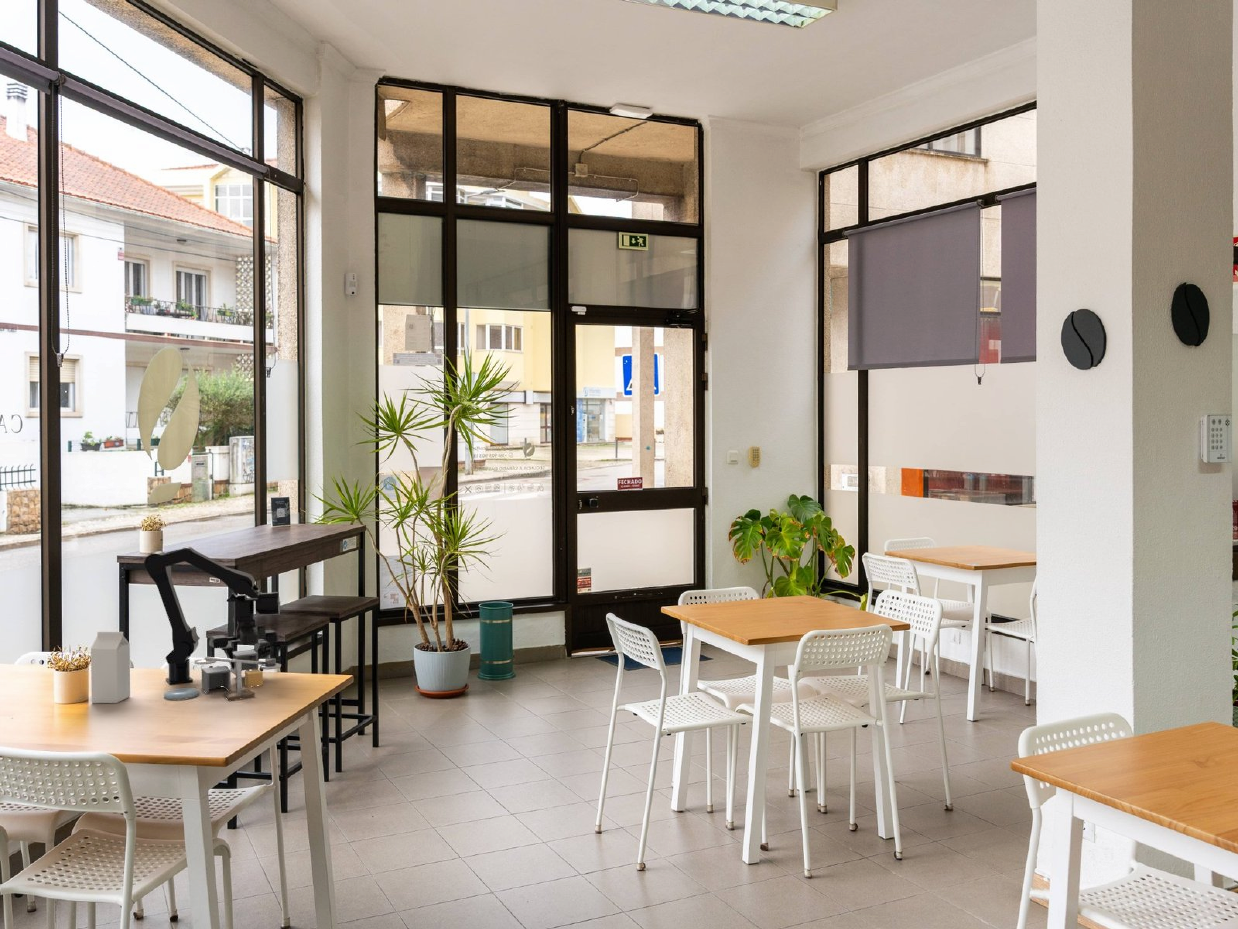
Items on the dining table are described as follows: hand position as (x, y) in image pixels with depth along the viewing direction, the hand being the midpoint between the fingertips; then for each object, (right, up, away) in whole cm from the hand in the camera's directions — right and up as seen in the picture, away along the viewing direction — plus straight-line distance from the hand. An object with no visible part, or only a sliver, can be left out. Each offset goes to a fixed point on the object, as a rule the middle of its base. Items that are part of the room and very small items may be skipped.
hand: (244, 667), depth 302 cm
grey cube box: (-3, -4, -14) cm, 15 cm away
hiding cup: (0, -2, 0) cm, 2 cm away
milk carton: (-27, -4, -25) cm, 37 cm away
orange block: (+6, -4, -8) cm, 11 cm away
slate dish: (-10, -4, -20) cm, 23 cm away
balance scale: (+6, -4, -21) cm, 22 cm away
